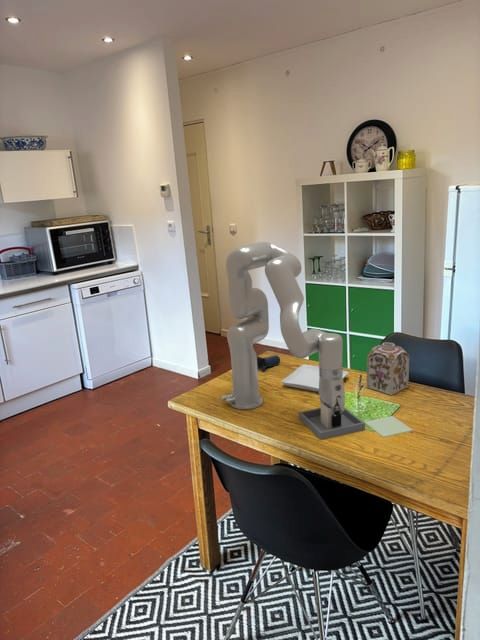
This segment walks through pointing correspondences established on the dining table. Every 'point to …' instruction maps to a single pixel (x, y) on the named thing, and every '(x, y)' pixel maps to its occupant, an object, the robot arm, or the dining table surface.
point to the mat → (388, 426)
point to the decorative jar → (387, 369)
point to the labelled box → (327, 415)
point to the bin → (348, 425)
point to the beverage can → (267, 362)
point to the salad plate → (306, 378)
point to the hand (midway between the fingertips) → (331, 420)
